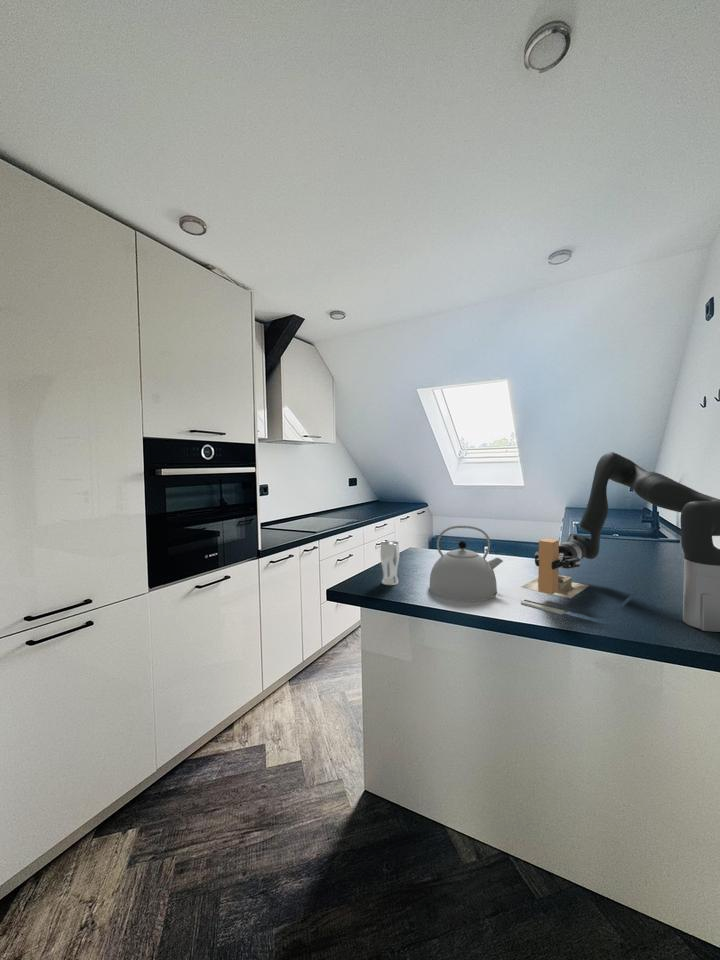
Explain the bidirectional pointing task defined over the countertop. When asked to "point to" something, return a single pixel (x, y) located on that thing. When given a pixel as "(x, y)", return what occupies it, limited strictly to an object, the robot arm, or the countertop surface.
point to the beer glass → (389, 562)
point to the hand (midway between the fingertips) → (545, 564)
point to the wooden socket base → (561, 586)
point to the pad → (544, 607)
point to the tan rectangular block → (548, 566)
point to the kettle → (464, 573)
